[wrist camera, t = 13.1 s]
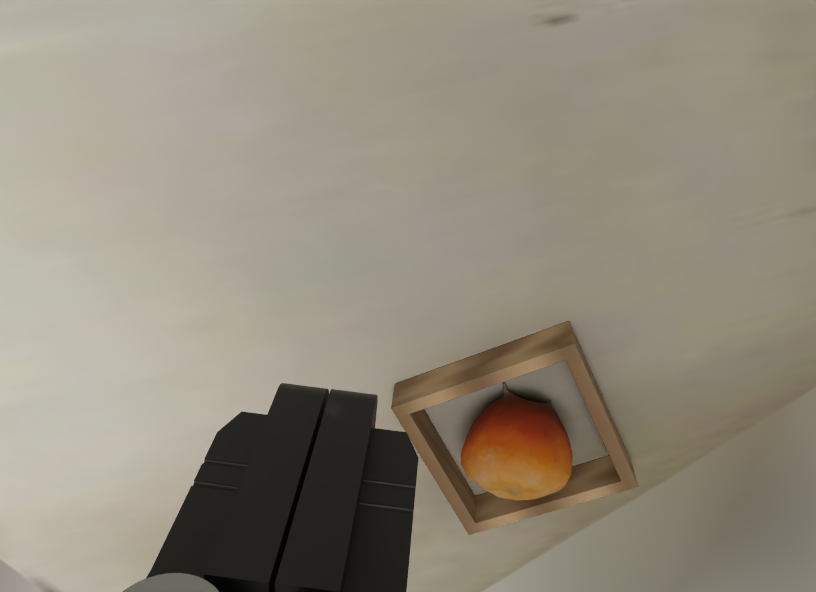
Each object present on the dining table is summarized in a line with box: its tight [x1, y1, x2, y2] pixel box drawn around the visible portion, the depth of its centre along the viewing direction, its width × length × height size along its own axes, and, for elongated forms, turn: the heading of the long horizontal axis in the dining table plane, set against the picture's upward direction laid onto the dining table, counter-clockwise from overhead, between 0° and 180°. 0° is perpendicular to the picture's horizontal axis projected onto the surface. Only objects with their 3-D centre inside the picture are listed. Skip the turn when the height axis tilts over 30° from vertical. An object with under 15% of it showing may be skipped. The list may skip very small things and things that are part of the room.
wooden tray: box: [391, 321, 638, 535], centre depth 53 cm, size 14×14×3 cm
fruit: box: [461, 383, 572, 500], centre depth 52 cm, size 8×8×8 cm
